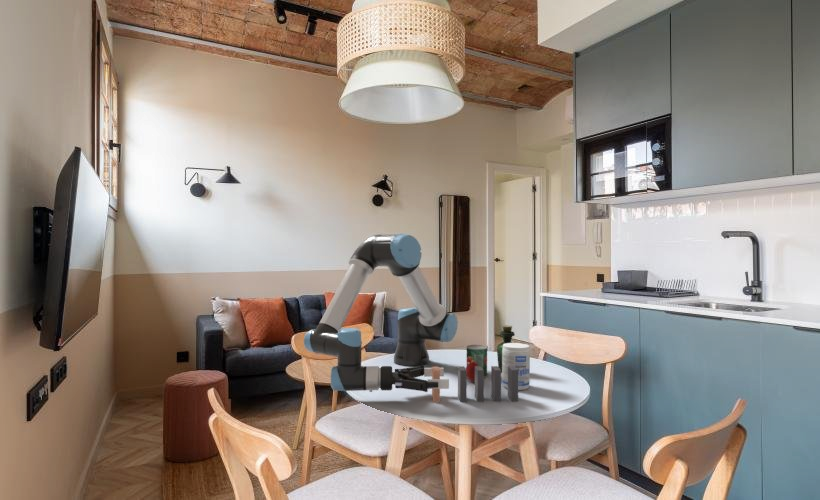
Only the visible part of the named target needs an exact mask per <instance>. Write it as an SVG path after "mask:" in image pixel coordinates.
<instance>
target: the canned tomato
mask: <svg viewBox="0 0 820 500" xmlns="http://www.w3.org/2000/svg"><path fill="white" fill-rule="evenodd" d="M472 360H473V361H474V362H475V363H476V364H478V365H479V366H481V367H482V369H483V370H484V379H485V378H487V377H488V346H486V345H482V344H468V345H466V367H467V366H468V365H469V364H470V363H471V361H472Z"/></svg>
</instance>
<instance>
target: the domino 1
mask: <svg viewBox="0 0 820 500" xmlns="http://www.w3.org/2000/svg"><path fill="white" fill-rule="evenodd" d="M467 380H468V378H467V370H466V366H462V365H461V366H460V365H459V366H457V397H458V400H459V403H467V394H468V393H467V387H468V386H467V385H468V384H467Z"/></svg>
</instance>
